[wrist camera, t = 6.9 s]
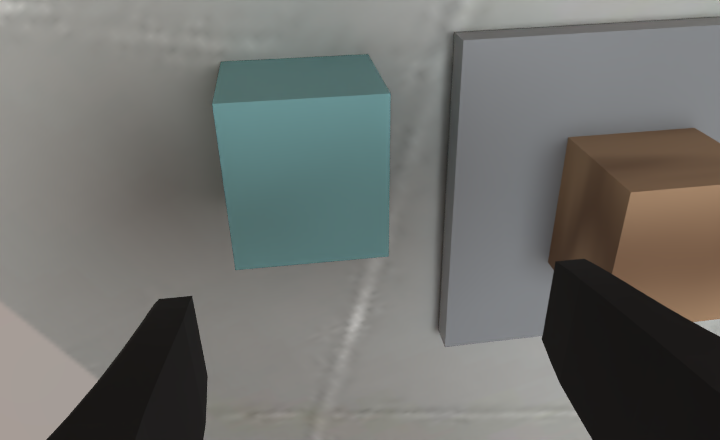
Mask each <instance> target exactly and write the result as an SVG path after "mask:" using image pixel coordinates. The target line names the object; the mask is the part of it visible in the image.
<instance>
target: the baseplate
mask: <svg viewBox="0 0 720 440" xmlns="http://www.w3.org/2000/svg"><path fill="white" fill-rule="evenodd" d="M685 128H696V129H697V130H699V131H701V132H702V133H704V134H706V135H707V136H709V137H711V138H712V139H714V140H716V141H717V142H719V143H720V17H709V18H692V19H675V20H658V21H641V22H624V23H607V24H590V25H573V26H556V27H539V28H522V29H505V30H488V31H471V32H454V50H453V69H452V88H451V107H450V126H449V145H448V164H447V183H446V202H445V221H444V240H443V259H442V278H441V296H440V315H439V333H440V335H441V338H442V341H443V343H444V346H445V347H449V346H458V345H467V344H475V343H484V342H493V341H501V340H510V339H519V338H527V337H536V336H543V330H544V324H545V318H546V313H547V307H548V301H549V296H550V290H551V284H552V279H553V273H554V270H553V269H552V267H551V266H550V264H549V263H548V259H549V252H550V246H551V240H552V234H553V228H554V222H555V216H556V210H557V203H558V197H559V191H560V185H561V179H562V173H563V167H564V160H565V154H566V148H567V142H568V137H578V136H591V135H605V134H618V133H631V132H645V131H658V130H671V129H685Z"/></svg>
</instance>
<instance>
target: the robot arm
mask: <svg viewBox="0 0 720 440" xmlns="http://www.w3.org/2000/svg"><path fill="white" fill-rule="evenodd" d="M542 341H543V343H544V346H545V348H546V351H547V354H548V356H549V359H550V361H551V364H552V366H553V368H554V371H555V373H556V375H557V378H558V380H559V382H560V384H561V386H562V388H563V389H564V391H565V393H566V395H567V397H568V398H569V400H570V402H571V404H572V405H573V407H574V409H575V411H576V412H577V414H578V416H579V417H580V419H581V421H582V423H583V424H584V426H585V428H586V429H587V431H588V433H589V434H590V436H591V438H592V440H720V337H719V336H718V335H716V334H714V333H712V332H710V331H708V330H706V329H704V328H702V327H701V326H699V325H697V324H695V323H694V322H692V321H690V320H688V319H686V318H685V317H683V316H681V315H679V314H678V313H676V312H674V311H673V310H671V309H669V308H667V307H666V306H664V305H662V304H661V303H659V302H657V301H656V300H654V299H652V298H651V297H649V296H647V295H646V294H644V293H642V292H641V291H639V290H638V289H636V288H634V287H633V286H631V285H629V284H628V283H626V282H624V281H623V280H621V279H619V278H618V277H616V276H614V275H613V274H611V273H609V272H608V271H606V270H604V269H603V268H601V267H599V266H597V265H596V264H594V263H592V262H590V261H588V260H586V259H575V260H564V261H555V267H554V273H553V279H552V284H551V290H550V296H549V301H548V307H547V313H546V318H545V324H544V330H543V336H542ZM206 403H207V371H206V366H205V361H204V356H203V350H202V345H201V340H200V335H199V330H198V325H197V320H196V314H195V309H194V304H193V299H192V296H187V297H177V298H166V299H159V300H158V301H157V302H156V303H155V304H154V305H153V307H152V308H151V310H150V311H149V313H148V314H147V315H146V317H145V318H144V320H143V321H142V323H141V324H140V326H139V327H138V328H137V330H136V331H135V333H134V334H133V335H132V337H131V338H130V340H129V341H128V342H127V344H126V345H125V347H124V348H123V349H122V351H121V352H120V353H119V355H118V356H117V357H116V358H115V360H114V361H113V362H112V364H111V365H110V366H109V368H108V369H107V370H106V371H105V373H104V374H103V375H102V377H101V378H100V379H99V380H98V382H97V383H96V384H95V385H94V387H93V388H92V389H91V390H90V391H89V392H88V394H87V395H86V396H85V397H84V398H83V399H82V401H81V402H80V403H79V404H78V405H77V407H76V408H75V409H74V410H73V411H72V412H71V413H70V415H69V416H68V417H67V418H66V419H65V420H64V421H63V422H62V424H61V425H60V426H59V427H58V428H57V429H56V430H55V431H54V432H53V433H52V434H51V435H50V436H49V438H47V440H203V437H204V431H205V423H206Z"/></svg>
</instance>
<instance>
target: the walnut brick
mask: <svg viewBox="0 0 720 440" xmlns="http://www.w3.org/2000/svg"><path fill="white" fill-rule="evenodd" d="M575 259H586V260H588V261H590V262H592V263H594V264H596V265H597V266H599V267H601V268H603V269H604V270H606V271H608V272H609V273H611V274H613V275H614V276H616V277H618V278H619V279H621V280H623V281H624V282H626V283H628V284H629V285H631V286H633V287H634V288H636V289H638V290H639V291H641V292H642V293H644V294H646V295H647V296H649V297H651V298H652V299H654V300H656V301H657V302H659V303H661V304H662V305H664V306H666V307H667V308H669V309H671V310H673V311H674V312H676V313H678V314H679V315H681V316H683V317H685V318H686V319H688V320H690V321H692V322H696V321H705V320H714V319H720V143H719V142H717V141H716V140H714V139H712V138H711V137H709V136H707V135H706V134H704V133H702V132H701V131H699V130H697V129H696V128H685V129H671V130H658V131H645V132H631V133H618V134H605V135H591V136H578V137H568V142H567V148H566V154H565V160H564V167H563V173H562V179H561V185H560V191H559V197H558V203H557V210H556V216H555V222H554V228H553V234H552V240H551V246H550V252H549V259H548V263H549V264H550V266H551V267H552V269H553V270H554V267H555V261H564V260H575Z"/></svg>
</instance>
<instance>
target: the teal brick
mask: <svg viewBox="0 0 720 440" xmlns="http://www.w3.org/2000/svg"><path fill="white" fill-rule="evenodd" d="M390 97H391V93H390V92H389V90H388V88H387V87H386V85H385V83H384V81H383V80H382V78H381V76H380V74H379V73H378V71H377V69H376V67H375V66H374V64H373V62H372V60H371V59H370V57H369V55H368V54H364V55H344V56H324V57H304V58H285V59H265V60H245V61H225V62H221V64H220V69H219V74H218V78H217V83H216V88H215V93H214V97H213V102H212V107H213V114H214V121H215V128H216V135H217V142H218V149H219V157H220V164H221V171H222V178H223V185H224V192H225V199H226V206H227V214H228V221H229V228H230V235H231V242H232V249H233V256H234V264H235V270H242V269H253V268H264V267H276V266H287V265H298V264H309V263H320V262H332V261H343V260H354V259H365V258H376V257H388V256H389V182H390Z"/></svg>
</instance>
